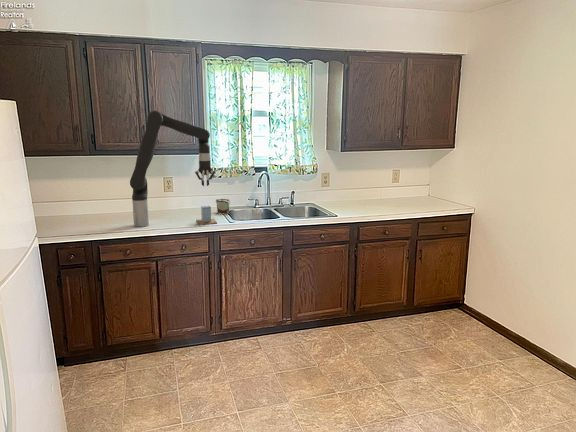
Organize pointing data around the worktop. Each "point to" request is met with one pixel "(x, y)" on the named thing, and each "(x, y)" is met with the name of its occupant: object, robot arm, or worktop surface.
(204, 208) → the blue-grey rectangular block
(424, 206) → the worktop surface
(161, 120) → the robot arm
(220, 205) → the food container
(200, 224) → the post
